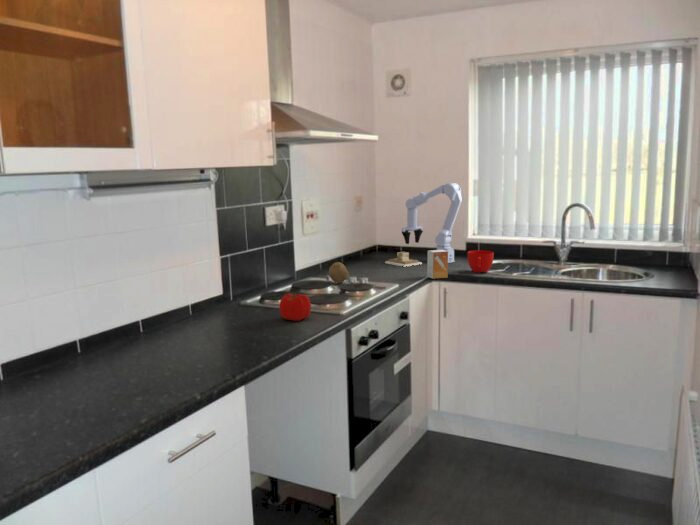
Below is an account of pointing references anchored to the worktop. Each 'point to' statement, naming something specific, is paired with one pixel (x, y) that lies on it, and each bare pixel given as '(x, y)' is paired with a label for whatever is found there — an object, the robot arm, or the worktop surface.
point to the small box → (437, 264)
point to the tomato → (295, 307)
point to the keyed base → (402, 263)
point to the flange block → (403, 256)
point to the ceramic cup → (480, 260)
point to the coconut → (338, 272)
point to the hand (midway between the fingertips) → (412, 243)
